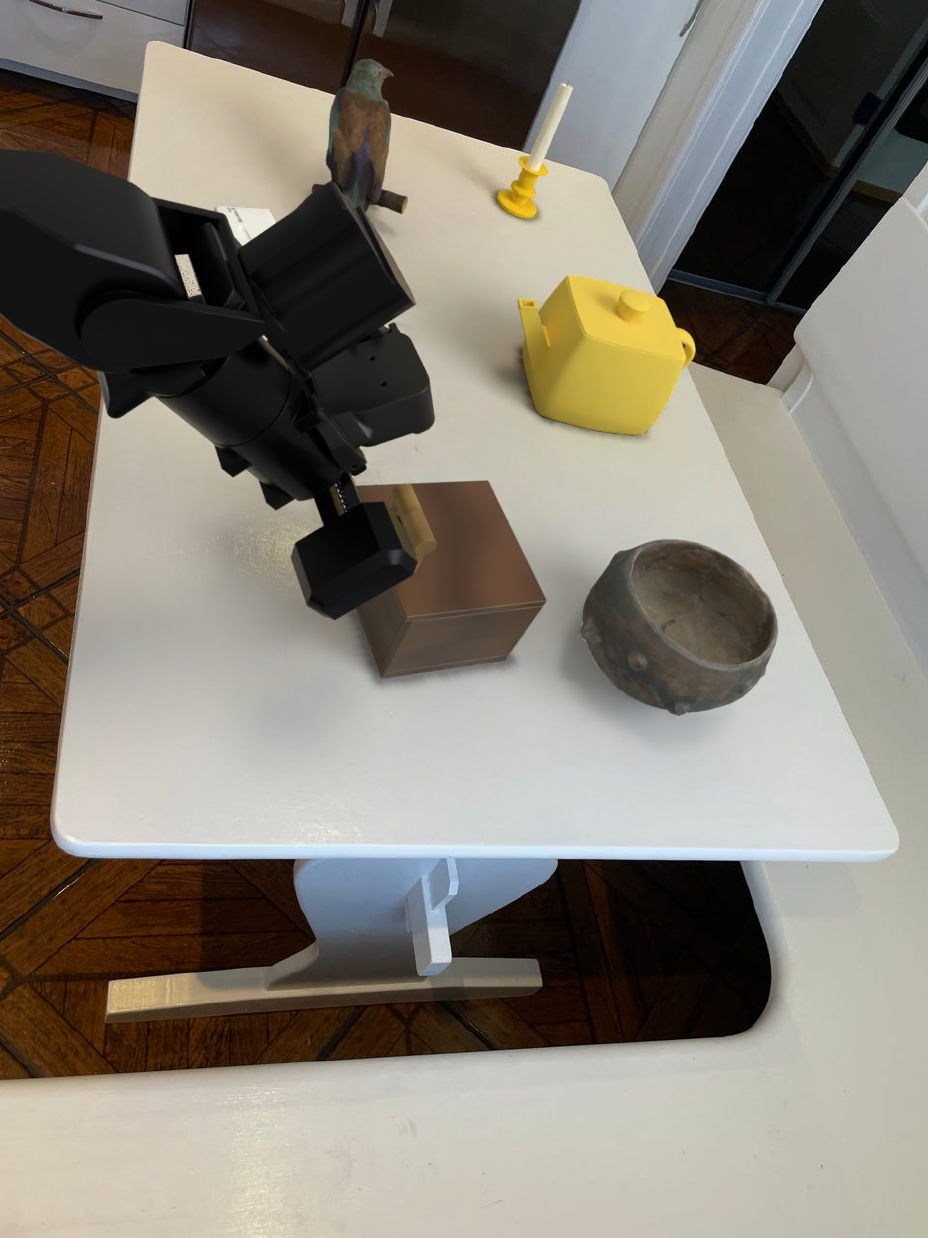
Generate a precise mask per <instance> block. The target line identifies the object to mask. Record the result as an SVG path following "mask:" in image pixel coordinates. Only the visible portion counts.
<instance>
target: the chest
mask: <svg viewBox="0 0 928 1238" xmlns="http://www.w3.org/2000/svg"><path fill="white" fill-rule="evenodd" d="M543 607H544V605H543V606H534V607H526V608H518V609H509V610H501V611H493V612H484V613H476V614H467V615H459V616H451V617H442V618H434V619H425V620H417V621H409V622H404V620H403V618H402V615H401V613H400V610H399V608H398V605H397V603H396V600H395V598H394V595H393V593H392V590H391V588H390V589H389V590H387V591H385V592H383V593H382V594H380V595H378V596H376V597H375V598H373V599H371V600H370V601H368V602H366V603H364V604H363V605H361V606H359V607H357V608H356V609H355V610H356V613H357V615H358V618H359V622H360V624H361V627H362V629H363V632H364V635H365V637H366V640H367V643H368V645H369V648H370V650H371V654H372V656H373V659H374V662H375V664H376V667H377V670H378V672H379V675H380V678H381V679H383V680H384V679H388V678H394V677H395V678H397V677H401V676H409V675H416V674H422V673H428V672H429V673H430V672H436V671H441V670H442V671H443V670H449V669H450V670H451V669H455V668H462V667H470V666H476V665H481V664H482V665H483V664H488V663H489V664H490V663H497V662H502V661H506V660H507V659H508V658H509V657H510V654H511V653H512V652H513V650H514V649H515V648H516V646H517V645H518V643H519V642H520V640H521V639H522V637H524V634H525V633H526V631H527V630H528V629H529V628H530V626H531V625H532V623H533V621H534V620H535V619H536V617H537V616H538V615H539V613H540V612H541V610H542V609H543Z"/></svg>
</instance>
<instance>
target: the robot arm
mask: <svg viewBox="0 0 928 1238" xmlns="http://www.w3.org/2000/svg"><path fill="white" fill-rule="evenodd" d="M322 185H323V186H322V187H320V188H319V189H317V190H316V191H314V192H313V193H312V192H311V193H310V194H309V195H308V196H306V197H305V199H303V200H302V202H300V204H299V205H298V206H297V207H296V208H295V209H293V210H292V211H290V213H288V214H287V215H285V216H284V217H282V218H280V219H279V220H278V221H276V223H275V224H274V225H272V226H271V227H269V228H268V229H266V230H265V231H263V232H262V233H261V234H259V235H258V236H256V237H255V238H253V239H252V240H250V241H249V242H248V243H246V244H245V245H243V246H242V245H241V244H240V243H239V241H238V240H237V239H236V238H235V237H234V234H233V232H232V229H231V227H230V224H229V221H228V219H227V217H226V215H225V214H223V213H220V212H216V211H214V210H212V209H211V210H210V209H206V208H202V207H199V206H193V205H189V204H184V203H180V202H177V201H173V200H167V199H164V198H159V197H155V196H151V195H149V194H148V193H147V192H146V191H145V190H143V189H142V188H141V187H140V186H138V185H137V184H135V183H133V182H131V181H129V180H127V179H125V178H123V177H121V176H117V175H115V174H112V173H109V172H108V171H104V170H101V169H99V168H96V167H94V166H91V165H88V164H85V163H83V162H80V161H77V160H75V159H72V158H69V157H67V156H64V155H61V154H59V153H56V152H53V151H44V150H30V149H29V150H27V149H13V148H12V149H11V148H1V147H0V316H1V317H2V318H3V319H4V320H5V321H6V322H8V324H10V325H11V326H12V327H13V328H14V329H15V330H17V331H18V332H20V333H22V334H23V335H25V336H27V337H29V338H31V339H32V340H35V341H36V342H38V343H40V344H41V345H43V346H45V347H47V348H49V349H51V350H52V351H54V352H56V353H58V354H59V355H61V356H63V357H65V358H66V359H69V360H71V361H72V362H74V363H76V364H77V365H80V366H82V367H84V368H86V369H88V370H91V371H96V374H97V378H98V382H99V387H100V391H101V394H102V399H103V403H104V407H105V411H106V414H107V416H108V417H109V418H110V419H114V420H118V419H120V418H122V417H124V416H126V415H127V414H129V413H130V412H131V411H133V410H134V409H137V408H138V407H139V406H141V405H143V403H145V402H147V401H149V400H150V399H151V398H155V399H157V400H158V401H159V402H160V403H162V405H164V406H165V407H167V408H168V409H169V410H170V411H172V412H173V413H174V414H175V415H177V416H178V417H179V418H180V419H182V420H183V421H184V422H186V423H187V424H188V425H189V426H191V427H192V428H193V429H194V430H195V431H197V432H198V433H199V434H201V436H203V437H204V438H205V439H207V440H208V441H209V442H211V443H212V444H213V446H214V449H215V452H216V455H217V459H218V462H219V465H220V469H221V470H222V471H223V472H225V473H226V474H227V475H229V476H230V477H232V478H235V477H236V476H239V474H241V473H243V472H245V471H247V472H248V473H249V474H251V475H252V476H253V477H254V478H255V479H257V480H258V483H259V486H260V489H261V492H262V495H263V498H264V501H265V504H266V505H268V506H269V507H270V508H272V509H273V510H274V511H276V512H277V511H278V510H280V509H281V508H283V507H285V506H287V505H288V504H289V503H290V504H291V502H293V501H294V500H296V501H297V502H306V501H309V500H313V501H314V504H315V506H316V509H317V512H318V514H319V518H320V520H321V522H322V525H321V526H320V527H318V528H317V529H315V530H314V531H312V532H311V533H309V534H307V535H306V536H304V537H302V538H300V539H299V540H297V541H296V542H294V544H293V547H292V551H291V554H290V561H291V563H292V567H293V569H294V572H295V576H296V579H297V582H298V584H299V587H300V590H301V594H302V596H303V599H304V602H305V605H306V607H308V608H309V609H311V610H313V611H314V612H316V614H319V615H320V616H322V617H324V618H325V619H329V620H332V621H337V620H339V619H340V618H342V617H343V616H345V615H347V614H348V613H350V612H352V611H354V610H356V608H357V607H359V606H361V605H363V604H364V603H366V602H368V601H370V600H371V599H373V598H375V597H376V596H378V595H380V594H382V593H383V592H385V591H387V590H389V589H390V588H392V587H394V586H395V585H397V584H399V583H401V582H403V581H405V580H406V579H408V578H410V577H411V576H413V574H414V571H415V569H416V566H417V564H418V561H417V559H416V556H415V554H414V552H413V549H412V546H411V544H410V541H409V539H408V536H407V534H406V532H405V529H404V527H403V524H402V522H401V520H400V517H399V516H396V515H395V513H394V512H393V510H392V509H391V508H390V507H389V506H388V505H387V504H386V503H385V502H384V501H380V502H362V500H361V498H360V495H359V493H358V490H357V488H356V486H357V485H356V482H355V480H354V477H357V476H359V475H360V474H362V473H364V472H366V471H367V470H368V465H367V464H368V461H367V459H366V456H365V454H364V451H363V449H361V447H362V448H372V447H375V446H379V445H382V444H385V443H388V442H391V441H394V440H397V439H400V438H402V437H406V436H409V435H412V434H413V435H419V434H422V433H424V432H427V431H428V430H430V429H431V428H432V427H433V425H434V424H435V422H436V414H435V408H434V401H433V400H434V399H433V394H432V393H433V392H432V387H431V380H430V375H429V374H428V371H427V369H426V366H425V365H424V363H423V361H422V359H421V357H420V355H419V353H418V350H417V349H416V346H415V344H414V342H413V340H412V339H411V337H410V336H409V335H407V334H406V333H403V332H401V330H400V329H399V327H398V325H397V323H396V322H395V321H394V322H392V321H393V320H395V319H397V318H398V317H399V316H401V315H402V314H404V313H405V312H407V311H409V310H410V309H412V308H413V307H415V306H416V305H417V301H416V299H415V296H414V294H413V292H412V289H411V288H410V285H409V284H408V282H407V280H406V278H405V277H404V274H403V272H402V271H401V269H400V267H399V266H398V264H397V262H396V260H395V258H394V257H393V255H392V254H391V251H390V250H389V248H388V247H387V245H386V243H385V241H384V240H383V238H382V237H381V235H380V233H379V232H378V230H377V229H376V227H375V225H374V224H373V222H372V221H371V219H370V217H369V216H368V214H367V212H366V213H365V211H364V210H363V208H362V207H361V206H360V205H358V206H357V207H356V206H355V204H354V203H353V202H352V200H351V199H350V198H349V197H348V196H347V195H343V194H342V192H341V191H340V189H339V188H338V186H337V185H336V183H335V182H330V181H327V182H326V183H324V184H322ZM184 255H187V257H188V260H189V262H190V265H191V269H192V272H193V275H194V277H195V281H196V283H197V286H198V289H199V292H200V294H195V295H192V296H189V294H188V290H187V287H186V285H185V282H184V279H183V276H182V273H181V270H180V267H179V263H178V260H177V256H184ZM387 324H388V327H386V326H385V325H387ZM262 336H265V337H266V338H267V341H266V340H265V339H264V338H263V337H262Z"/></svg>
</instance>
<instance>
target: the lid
mask: <svg viewBox="0 0 928 1238" xmlns="http://www.w3.org/2000/svg"><path fill="white" fill-rule="evenodd" d="M356 488H357V490H358V493H359V495H360V498H361V500H362V502H380V501H384V502H385V503H386V504H387V505H388V506H389V507H390V508H391V509H392V510H393V512H394V513H395V515H396V516H399V517H400V520H401V522H402V524H403V527H404V529H405V532H406V534H407V536H408V539H409V541H410V544H411V546H412V549H413V552H414V554H415V556H416V559H417V561H418V564H417V566H416V569H415V571H414V574H413V576H411V577H410V578H408V579H406V580H405V581H403V582H401V583H399V584H397V585H395V586H394V587H392V588H391V590H392V593H393V595H394V598H395V600H396V603H397V605H398V608H399V610H400V613H401V615H402V618H403V620H404V622H409V621H417V620H425V619H434V618H442V617H451V616H459V615H467V614H476V613H484V612H493V611H501V610H509V609H518V608H526V607H534V606H543V607H544V606H545V604H546V603H547V602H548V600H547V598H546V596H545V594H544V592H543V590H542V588H541V585H540V584H539V582H538V580H537V577H536V575H535V573H534V571H533V569H532V566H531V565H530V562H529V561H528V559H527V557H526V554H525V553H524V550H523V549H522V547H521V544H520V543H519V540H518V538H517V537H516V534H515V532H514V530H513V528H512V526H511V524H510V522H509V519H508V518H507V516H506V514H505V512H504V509H503V508H502V506H501V504H500V501H499V499H498V498H497V495H496V493H495V491H494V489H493V487H492V485H491V483H490V481H489V480H487V479H486V480H463V481H462V480H461V481H459V480H458V481H438V482H437V481H436V482H414V483H413V482H411V483H410V482H409V483H389V484H388V483H385V484H363V485H361V484H359V485H356Z"/></svg>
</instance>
